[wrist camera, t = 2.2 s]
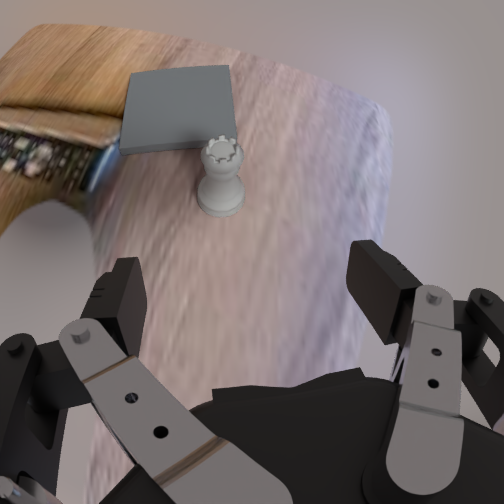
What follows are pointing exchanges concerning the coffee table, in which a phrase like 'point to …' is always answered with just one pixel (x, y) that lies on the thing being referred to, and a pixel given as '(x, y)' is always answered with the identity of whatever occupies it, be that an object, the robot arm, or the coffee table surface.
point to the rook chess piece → (221, 177)
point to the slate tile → (177, 109)
